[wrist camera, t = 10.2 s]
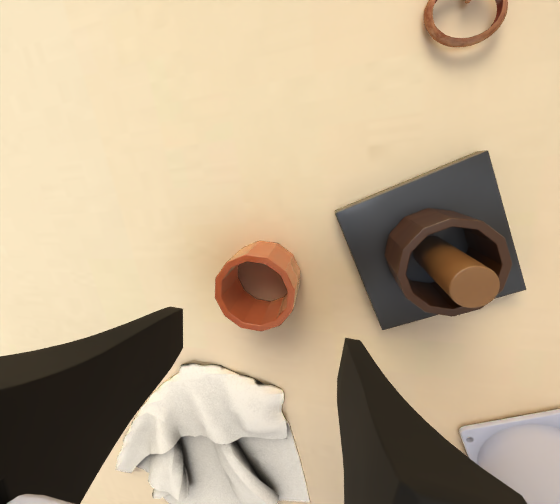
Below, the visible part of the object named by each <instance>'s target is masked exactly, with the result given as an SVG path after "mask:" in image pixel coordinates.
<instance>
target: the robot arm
mask: <svg viewBox="0 0 560 504" xmlns="http://www.w3.org/2000/svg"><path fill="white" fill-rule="evenodd" d="M182 349H183V309H181V308H175V307H167V308H164V309H161V310H159V311H156V312H154V313H151V314H149V315H146V316H144V317H141V318H139V319H136V320H134V321H131V322H129V323H126V324H124V325H121V326H118V327H116V328H113V329H110V330H107V331H105V332H102V333H99V334H96V335H93V336H90V337H87V338H83V339H80V340H76V341H73V342H69V343H66V344H61V345H57V346H53V347H48V348H44V349H40V350H35V351H30V352H25V353H19V354H13V355H7V356H1V357H0V504H80V503H81V501H82V499H83V498H84V496H85V494H86V492H87V491H88V489H89V487H90V485H91V484H92V482H93V480H94V478H95V477H96V475H97V473H98V472H99V470H100V468H101V467H102V465H103V463H104V462H105V460H106V458H107V457H108V455H109V454H110V452H111V450H112V449H113V447H114V445H115V444H116V442H117V441H118V439H119V438H120V436H121V435H122V433H123V431H124V430H125V428H126V427H127V425H128V424H129V422H130V421H131V419H132V418H133V417H134V415H135V414H136V412H137V411H138V410H139V409H140V407H141V406H142V405H143V403H144V402H145V401H146V400H147V398H148V397H149V396H150V395H151V393H152V392H153V391H154V389H155V388H156V387H157V386H158V384H159V383H160V382H161V381H162V379H163V378H164V377H165V375H166V374H167V373H168V371H169V370H170V369H171V367H172V366H173V364H174V362H175V361H176V359H177V357H178V356H179V354H180V352H181V350H182ZM337 406H338V416H339V425H340V435H341V444H342V454H343V465H344V504H560V409H555V410H550V411H544V412H539V413H533V414H528V415H522V416H517V417H511V418H506V419H500V420H494V421H489V422H483V423H478V424H472V425H467V426H462V427H461V428H460V429H459V433H460V436H461V439H462V441H463V444H464V447H465V450H466V452H467V455H468V457H467V456H466V455H465V454H463V453H462V452H461V451H460V450H458V449H457V448H456V447H455V446H453V445H452V444H451V443H450V442H449V441H447V440H446V439H445V438H444V437H443V436H442V435H440V434H439V433H438V432H437V431H436V430H435V429H434V428H433V427H432V426H430V425H429V424H428V423H427V422H426V421H425V420H424V419H423V418H422V417H421V416H420V415H419V414H418V413H417V412H416V411H415V410H414V409H413V408H412V407H411V406H410V405H409V404H408V403H407V402H406V401H405V400H404V398H403V397H402V396H401V395H400V394H399V393H398V392H397V390H396V389H395V388H394V387H393V386H392V384H391V383H390V382H389V381H388V379H387V378H386V377H385V375H384V374H383V373H382V371H381V370H380V369H379V367H378V366H377V364H376V363H375V362H374V360H373V359H372V357H371V356H370V354H369V353H368V351H367V350H366V348H365V347H364V345H363V344H362V342H361V341H360V340H355V339H349V338H345V342H344V347H343V352H342V357H341V363H340V368H339V373H338V378H337ZM468 437H469V438H468Z"/></svg>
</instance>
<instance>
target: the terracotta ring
mask: <svg viewBox="0 0 560 504" xmlns="http://www.w3.org/2000/svg"><path fill="white" fill-rule="evenodd" d="M247 261H248V262H255V263H262V264H266V265H267V266H269V267H270V268H271V269H273V270H274V271H275V272H277V273H278V274H280V275H281V277H282V280H283V282H284V284H285V286H286V288H287V290H288V292H287V294H286V295H285V296H284V297H282V298H279V299H276V300H273V301H265V300H259V299H255V298H254V297H253V296H251V295H250V294H249V293H247V292H246V291H245V290H244V289H243V287H242V285H241V283H240V281H239V279H238V265H239V264H242V263H244V262H247ZM299 280H300V269H299V267H298V264H297V262H296V260H295V258H294V255H293V254H292V253H290V252H289V251H288V250H286V249H285V248H284V247H282V246H281V245H280V244H278V243H274V242H266V241H257V242H254V243H252V244H250V245H247V246H245V247H243V248H242V249H241V250H239V251H238V252H237V253H236V254H235V255H234V256H233V257H232V258H231V259H230V260H229V261H227V262H226V264H225V265H224V266H223V268H222V269H221V271H220V272H219V274H218V275H217V277H216V279H215V299H216V301H217V303H218V304H219V306H220V308H221V310H222V312H223V314H224V315H225V316H226V317H227V318H228V319H230V320H231V321H232V322H234V323H235V324H237V325H238V326H239V327H241V328H245V329H251V330H256V331H264V330H267V329H270V328H274V327H277V326H280V325H281V324H282V323H283V322H284V320H285V319H286V318H287V317H288V316H289V315H290V313H291V312H292V311H293V308H294V304H295V300H296V296H297V292H298V288H299Z"/></svg>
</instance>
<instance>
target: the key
mask: <svg viewBox="0 0 560 504" xmlns="http://www.w3.org/2000/svg"><path fill="white" fill-rule="evenodd" d="M436 1H437V0H429V1H428V3H427V5H426V8H425V12H424V23H425V27H426V29H427V31H428V33H429V34H430V36H431V37H432V38H433V39H434V40H436V41H437V42H439V43H441V44H443V45H446V46H450V47H466V46H471V45H474V44H476V43H479V42H481V41H483V40H485V39H486V38H488V37H489V36H491V35H492V34H493V33H494V32H495V31H496V30H497V29H498V28H499V27H500V25H501V24H502V22H503V21H504V19H505V16H506V13H507V9H508V1H507V0H495V1H496V4H497V14H496V18H495V20H494V23H493V24H492V26H491V27H490V28H489V29H488V30H486V31H485V32H483V33H481V34H479V35H476V36H473V37H470V38H453V37H450V36H447V35H445V34H444V33H442V32H441V31H440V30H439V29H437V27H436V26H435V24H434V21H433V16H432V15H433V6H434V4H435V3H436ZM470 1H471V0H465V3H469V2H470Z"/></svg>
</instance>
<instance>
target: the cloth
mask: <svg viewBox="0 0 560 504" xmlns="http://www.w3.org/2000/svg"><path fill="white" fill-rule="evenodd" d="M283 402H284V393H283V391H282V389H280V388H278V387H276V386H274V385H265V384H263V383H261V382H259V381H257V380H256V379H253V378H251V377H249V376H244V375H239V374H237V373H236V372H233V371H231V370H229V369H227V368H224V367H222V366H221V365H212V364H211V365H205V366H201V365H197V364H194V363H191V364H183V365H181V367H180V370H179V373H178V374H176V375H174V376H173V377H172V378H171V379H170V380H168V381H166V382H164V383H163V384H162V385H161V386H160V387H159V388H158V389H157V390H156V391H155V392H154V393H153V394H152V395H151V396H150V397H149V399H148V400H147V401H146V403H145V404H144V405H143V406H142V407H141V408H140V411H139V413H138V415H137V417H136V419H135V420H134V421H133V422H132V424H131V427H130V429H129V431H128V433H127V435H126V436H125V438H124V440H123V445H122V448H121V451H120V453H119V455H118V458H117V464H116V470H118V471H122V472H129V473H132V471H133V470H134V469H135V467H138V468H141V469H144V470H145V471H146V472H148V473H149V476H148V482H149V483H150V485H151V487H152V488H154V489H153V493H152V496H153V498H156V499H160V498H162V497H163V498H164V499H165V500H166V501H167V502H168V503H169V504H277V502H278V501H295V502H310V499H309V495H308V490H307V486H306V482H305V477H304V474H303V470H302V465H301V461H300V457H299V454H298V451H297V448H296V445H295V442H294V438H293V434H292V431H291V428H290V424H289V422H288V421H287V420H286V419H285V418H284V416H283V413H282V411H281V410H282V403H283Z"/></svg>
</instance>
